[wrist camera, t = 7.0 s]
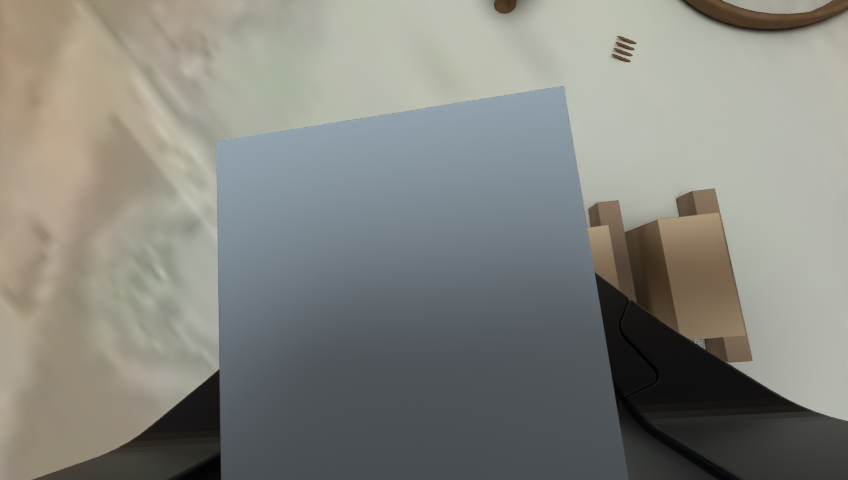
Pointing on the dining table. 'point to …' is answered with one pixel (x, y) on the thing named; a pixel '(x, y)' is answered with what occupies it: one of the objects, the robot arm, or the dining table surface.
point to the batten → (413, 300)
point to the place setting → (732, 16)
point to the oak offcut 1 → (603, 254)
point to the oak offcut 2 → (686, 275)
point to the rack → (611, 216)
